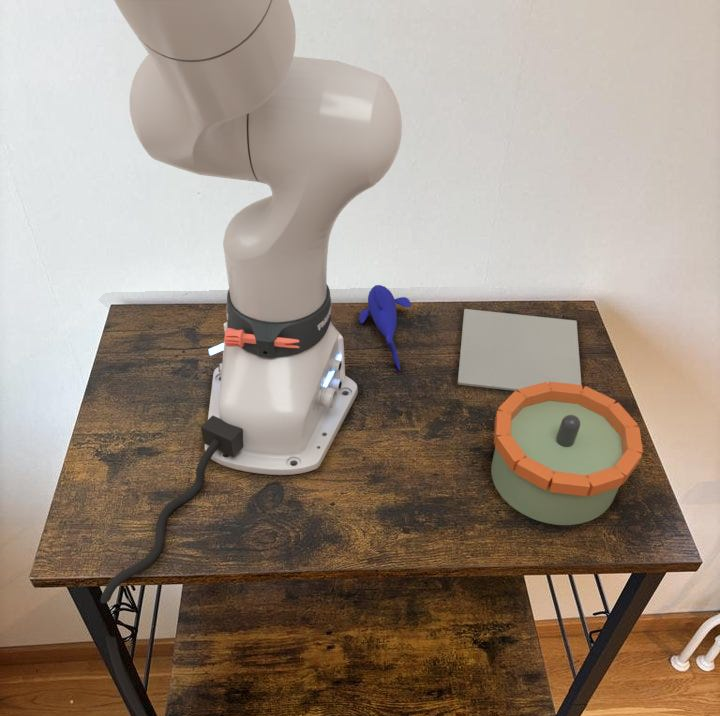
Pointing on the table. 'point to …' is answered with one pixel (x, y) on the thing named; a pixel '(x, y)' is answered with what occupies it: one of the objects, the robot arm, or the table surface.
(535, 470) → the ring
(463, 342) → the mat
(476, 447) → the table surface
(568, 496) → the stand
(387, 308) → the fish toy
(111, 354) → the table surface
